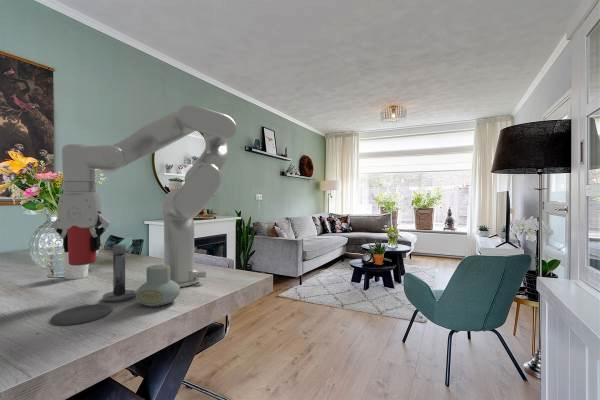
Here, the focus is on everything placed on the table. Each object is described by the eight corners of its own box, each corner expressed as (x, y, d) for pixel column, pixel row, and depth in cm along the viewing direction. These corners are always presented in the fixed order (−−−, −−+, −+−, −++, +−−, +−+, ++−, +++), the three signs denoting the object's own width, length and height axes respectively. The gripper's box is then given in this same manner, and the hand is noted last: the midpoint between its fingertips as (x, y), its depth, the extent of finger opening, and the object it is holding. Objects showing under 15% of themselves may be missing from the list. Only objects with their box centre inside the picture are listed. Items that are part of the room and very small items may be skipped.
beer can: (102, 260, 91) (100, 220, 90) (84, 266, 84) (82, 222, 84) (81, 260, 91) (79, 220, 91) (62, 266, 85) (60, 223, 85)
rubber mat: (120, 306, 81) (120, 303, 81) (92, 324, 69) (92, 322, 69) (73, 307, 81) (73, 304, 81) (37, 326, 69) (37, 323, 69)
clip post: (140, 293, 92) (140, 251, 92) (126, 302, 84) (126, 256, 84) (112, 293, 92) (112, 251, 92) (96, 302, 84) (96, 257, 84)
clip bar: (124, 254, 87) (124, 245, 87) (111, 254, 86) (111, 246, 86) (134, 243, 107) (134, 236, 107) (123, 244, 106) (123, 237, 106)
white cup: (94, 275, 114) (94, 248, 114) (73, 280, 106) (73, 252, 106) (79, 273, 116) (79, 247, 116) (57, 279, 109) (57, 251, 109)
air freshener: (130, 308, 80) (129, 269, 80) (148, 297, 88) (147, 263, 88) (170, 309, 79) (170, 270, 79) (184, 298, 88) (184, 263, 87)
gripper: (37, 189, 83) (40, 254, 83) (103, 187, 84) (106, 252, 84) (57, 189, 91) (60, 249, 91) (118, 188, 92) (120, 247, 92)
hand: (82, 250), depth 88 cm, fingers closed on beer can, 6 cm apart
